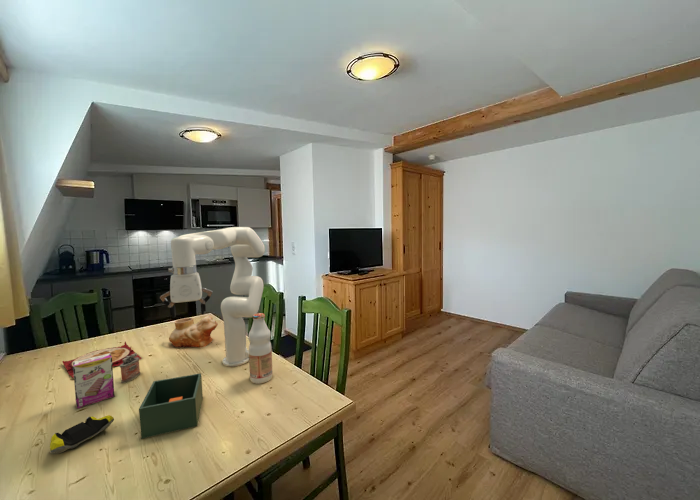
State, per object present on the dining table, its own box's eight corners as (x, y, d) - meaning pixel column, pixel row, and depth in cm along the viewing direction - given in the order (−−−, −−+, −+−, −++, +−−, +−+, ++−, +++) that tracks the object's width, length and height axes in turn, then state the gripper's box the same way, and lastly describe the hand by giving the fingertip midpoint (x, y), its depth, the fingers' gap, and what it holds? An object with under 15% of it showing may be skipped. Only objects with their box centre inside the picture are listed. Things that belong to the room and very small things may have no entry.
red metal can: (125, 383, 126) (123, 360, 125) (119, 382, 126) (117, 359, 125) (142, 373, 134) (140, 352, 133) (136, 373, 134) (134, 351, 133)
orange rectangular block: (183, 406, 108) (182, 396, 107) (179, 418, 101) (179, 407, 101) (170, 409, 106) (169, 398, 106) (166, 421, 100) (165, 410, 99)
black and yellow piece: (117, 430, 97) (101, 422, 101) (116, 414, 96) (99, 406, 100) (56, 464, 83) (40, 452, 88) (54, 446, 83) (38, 435, 87)
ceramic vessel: (211, 348, 160) (210, 321, 159) (163, 348, 160) (161, 321, 159) (223, 338, 174) (221, 313, 173) (178, 338, 174) (176, 313, 173)
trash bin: (202, 397, 115) (201, 373, 114) (197, 426, 98) (195, 397, 97) (155, 406, 109) (153, 381, 108) (141, 438, 93) (138, 409, 92)
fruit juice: (247, 384, 123) (243, 318, 121) (253, 373, 133) (250, 311, 130) (269, 383, 124) (267, 318, 121) (274, 372, 133) (272, 311, 131)
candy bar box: (76, 409, 108) (72, 366, 106) (76, 404, 111) (71, 361, 110) (115, 397, 116) (112, 356, 114) (113, 391, 119) (110, 352, 118)
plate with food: (62, 365, 143) (61, 358, 143) (126, 346, 163) (126, 340, 163) (72, 381, 129) (71, 374, 128) (142, 358, 149) (141, 352, 148)
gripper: (155, 274, 104) (159, 321, 106) (209, 270, 110) (213, 315, 112) (160, 270, 111) (164, 315, 113) (211, 267, 117) (214, 309, 119)
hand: (188, 315), depth 112 cm, fingers open, 9 cm apart
